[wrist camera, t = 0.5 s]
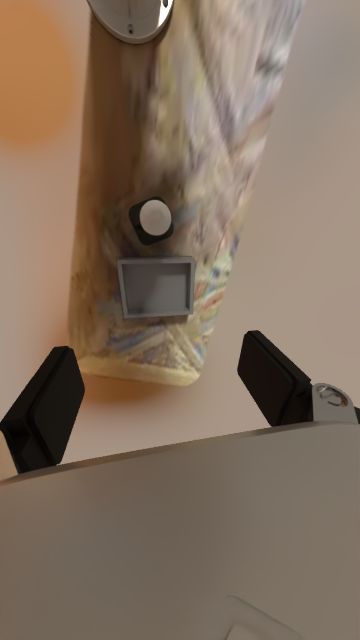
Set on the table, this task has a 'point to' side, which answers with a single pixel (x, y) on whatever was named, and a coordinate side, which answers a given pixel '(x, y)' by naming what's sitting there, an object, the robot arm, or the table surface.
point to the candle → (151, 220)
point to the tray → (156, 285)
